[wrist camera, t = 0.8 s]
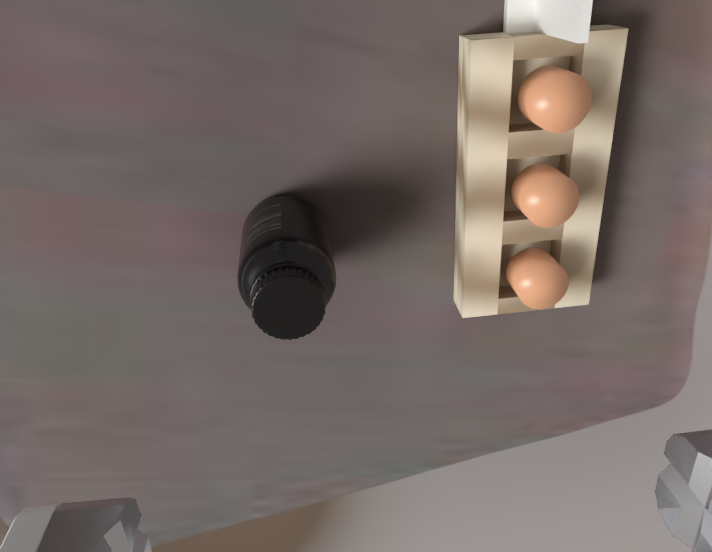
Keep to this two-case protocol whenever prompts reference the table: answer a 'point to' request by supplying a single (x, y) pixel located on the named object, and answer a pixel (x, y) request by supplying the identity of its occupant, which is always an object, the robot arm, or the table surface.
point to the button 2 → (554, 98)
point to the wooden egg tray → (527, 162)
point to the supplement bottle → (286, 267)
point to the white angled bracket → (549, 18)
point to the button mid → (545, 195)
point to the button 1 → (537, 278)
